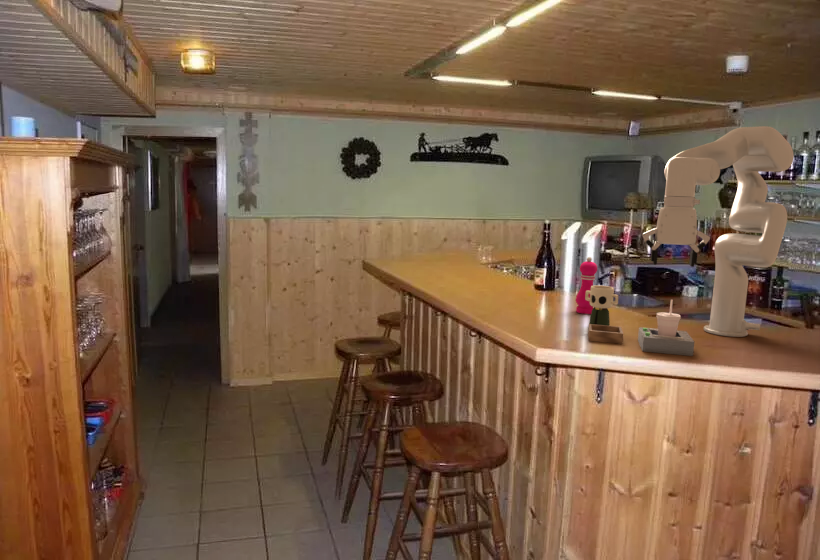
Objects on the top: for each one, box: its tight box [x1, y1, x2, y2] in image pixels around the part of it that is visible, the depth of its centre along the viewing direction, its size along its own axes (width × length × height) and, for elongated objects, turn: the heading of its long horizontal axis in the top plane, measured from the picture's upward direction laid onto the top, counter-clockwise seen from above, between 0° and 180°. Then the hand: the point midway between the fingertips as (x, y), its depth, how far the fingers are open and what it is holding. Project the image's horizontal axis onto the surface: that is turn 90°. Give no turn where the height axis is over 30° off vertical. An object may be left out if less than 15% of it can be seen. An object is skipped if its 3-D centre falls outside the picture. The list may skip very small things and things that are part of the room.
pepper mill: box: [575, 256, 598, 315], centre depth 225 cm, size 7×7×20 cm
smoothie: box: [655, 299, 682, 337], centre depth 178 cm, size 6×6×14 cm
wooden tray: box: [587, 323, 624, 345], centre depth 187 cm, size 9×9×3 cm
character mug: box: [585, 284, 619, 326], centre depth 202 cm, size 11×7×13 cm, turn 50°
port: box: [637, 326, 695, 357], centre depth 179 cm, size 13×13×5 cm
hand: (672, 265), depth 175 cm, fingers open, 9 cm apart
